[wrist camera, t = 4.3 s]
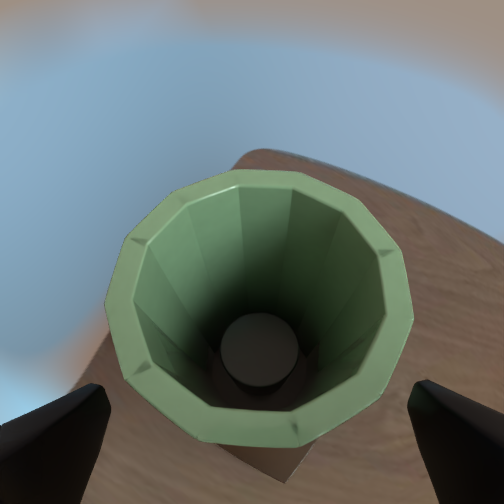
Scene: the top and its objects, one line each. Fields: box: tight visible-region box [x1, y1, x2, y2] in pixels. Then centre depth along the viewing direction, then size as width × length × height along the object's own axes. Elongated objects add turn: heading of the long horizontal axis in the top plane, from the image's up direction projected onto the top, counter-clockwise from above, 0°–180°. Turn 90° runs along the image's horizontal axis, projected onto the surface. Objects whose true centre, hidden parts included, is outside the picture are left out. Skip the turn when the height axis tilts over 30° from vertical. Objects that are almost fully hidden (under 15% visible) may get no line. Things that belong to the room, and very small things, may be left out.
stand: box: [212, 312, 318, 483], centre depth 14 cm, size 10×10×6 cm
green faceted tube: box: [104, 169, 414, 448], centre depth 10 cm, size 7×7×11 cm
